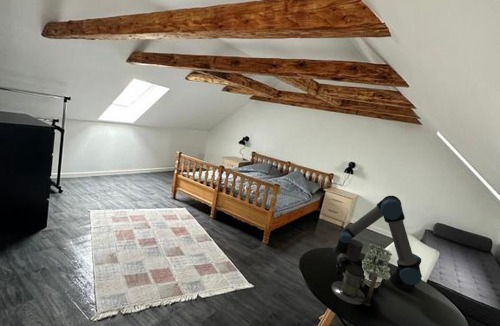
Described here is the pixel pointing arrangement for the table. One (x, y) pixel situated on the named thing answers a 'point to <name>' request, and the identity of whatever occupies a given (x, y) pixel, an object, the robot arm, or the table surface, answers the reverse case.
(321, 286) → the table surface
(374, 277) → the gauge stand
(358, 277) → the coffee can
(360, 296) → the turntable
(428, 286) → the table surface
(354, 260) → the pillar candle
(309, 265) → the table surface
